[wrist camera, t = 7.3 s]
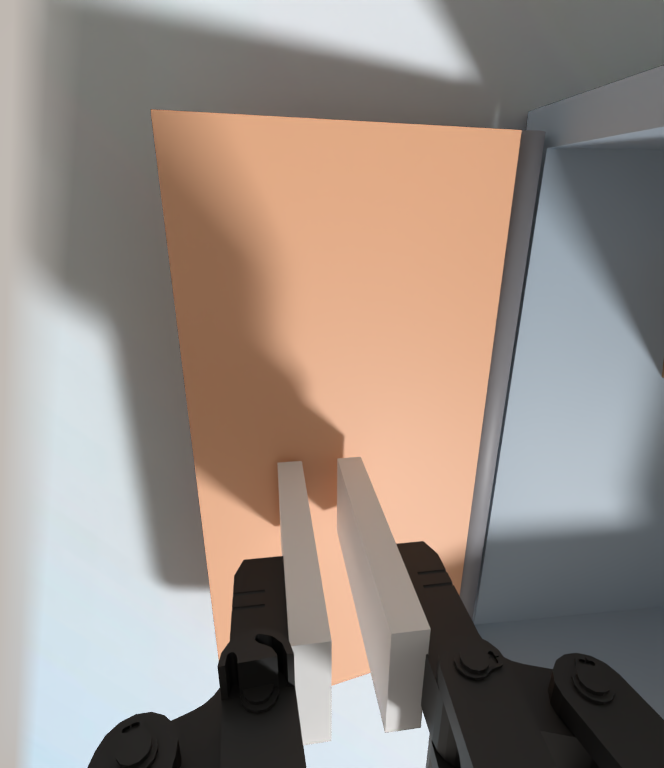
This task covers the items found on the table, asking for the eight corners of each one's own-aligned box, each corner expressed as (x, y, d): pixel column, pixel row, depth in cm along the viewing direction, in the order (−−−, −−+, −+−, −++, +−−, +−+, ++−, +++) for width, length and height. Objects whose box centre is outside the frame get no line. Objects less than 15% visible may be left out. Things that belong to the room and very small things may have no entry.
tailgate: (526, 136, 15) (151, 116, 11) (555, 131, 14) (150, 108, 10) (460, 618, 22) (222, 694, 19) (475, 639, 21) (226, 723, 18)
